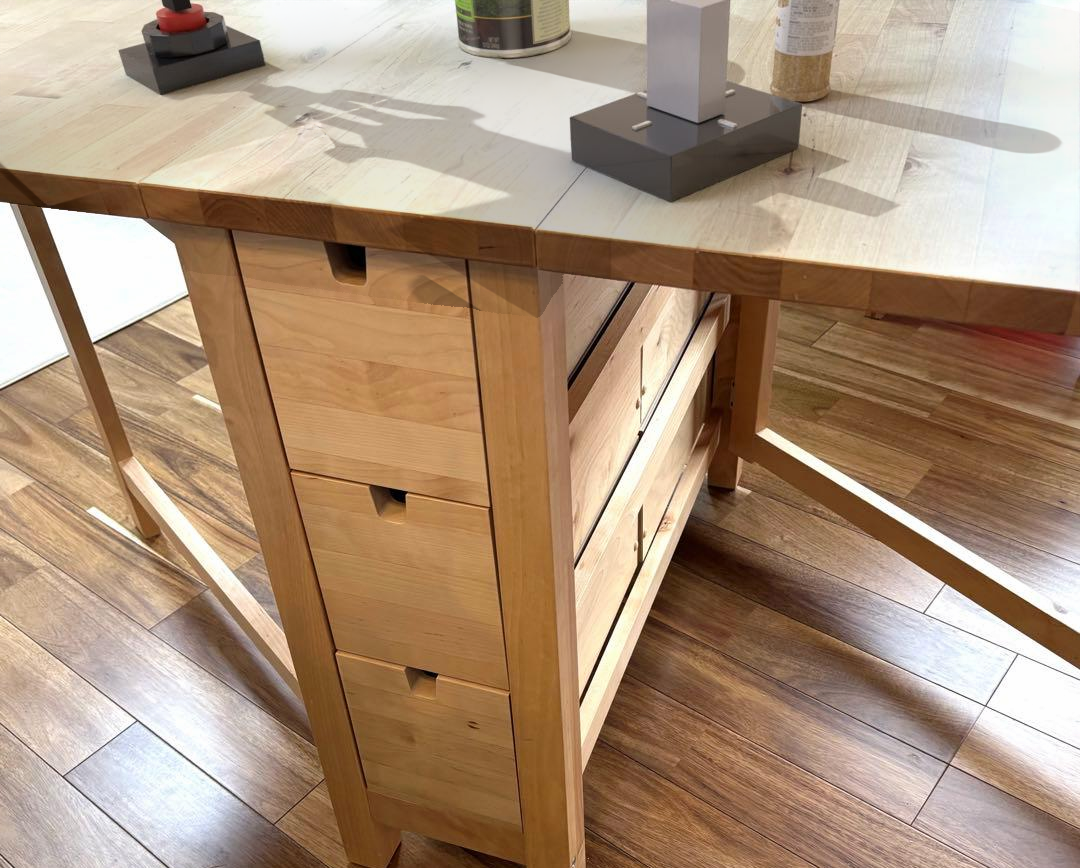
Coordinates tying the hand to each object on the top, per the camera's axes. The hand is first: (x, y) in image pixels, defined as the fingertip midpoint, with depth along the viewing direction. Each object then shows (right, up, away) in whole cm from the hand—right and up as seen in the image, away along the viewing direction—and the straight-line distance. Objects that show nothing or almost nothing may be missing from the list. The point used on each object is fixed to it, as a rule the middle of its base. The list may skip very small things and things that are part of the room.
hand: (177, 6), depth 90 cm
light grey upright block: (+41, -17, -20) cm, 49 cm away
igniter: (0, -4, +4) cm, 5 cm away
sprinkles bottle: (+51, -12, -11) cm, 54 cm away
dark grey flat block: (+41, -19, -18) cm, 49 cm away
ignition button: (0, -1, +1) cm, 2 cm away
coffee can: (+29, -1, +4) cm, 29 cm away
